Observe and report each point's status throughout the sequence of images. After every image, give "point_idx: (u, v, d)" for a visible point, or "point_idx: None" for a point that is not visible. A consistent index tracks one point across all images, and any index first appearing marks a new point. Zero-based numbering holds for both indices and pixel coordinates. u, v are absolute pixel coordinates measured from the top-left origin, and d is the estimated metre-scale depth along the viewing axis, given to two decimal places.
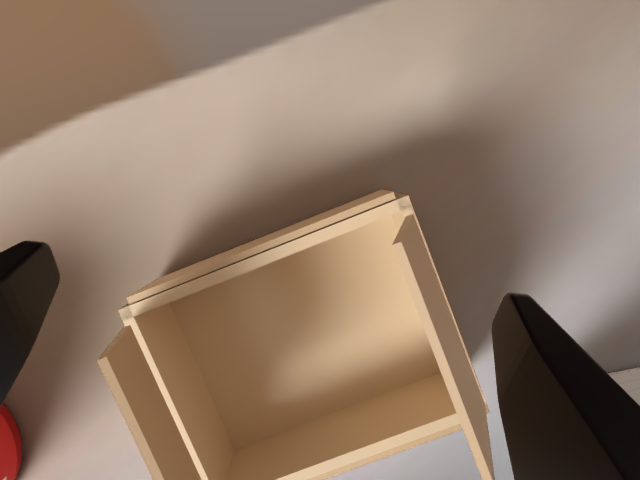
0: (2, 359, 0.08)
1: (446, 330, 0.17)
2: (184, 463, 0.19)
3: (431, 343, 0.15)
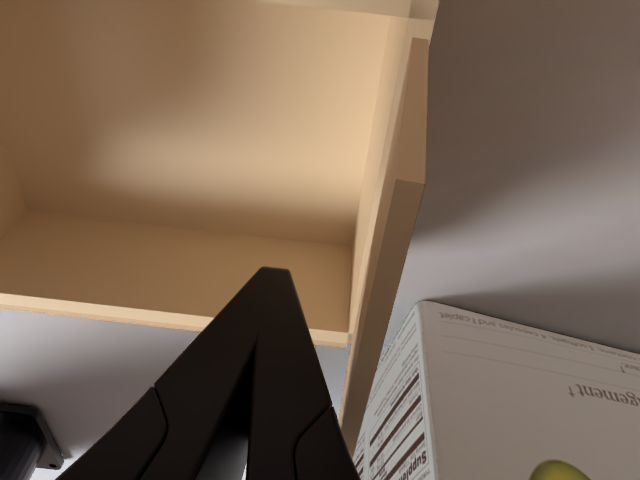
0: None
1: None
2: None
3: (356, 376, 0.07)
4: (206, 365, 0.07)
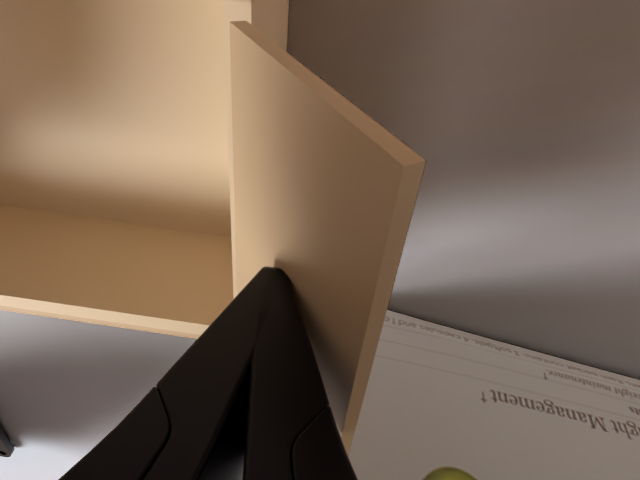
0: None
1: None
2: None
3: (363, 359, 0.07)
4: (209, 365, 0.07)
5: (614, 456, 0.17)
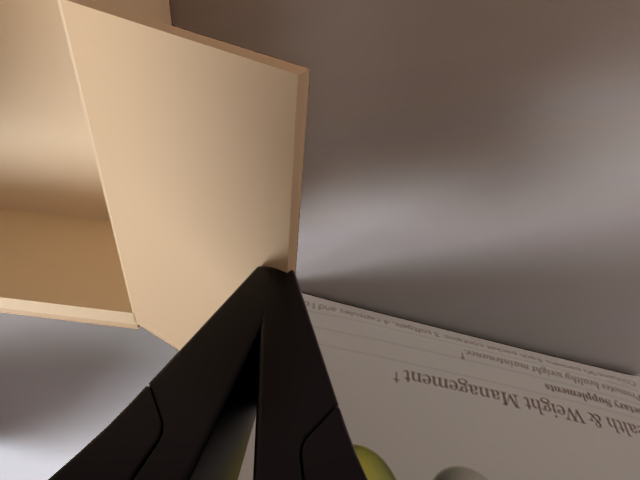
0: None
1: None
2: None
3: (291, 254, 0.09)
4: (202, 364, 0.07)
5: (523, 431, 0.17)
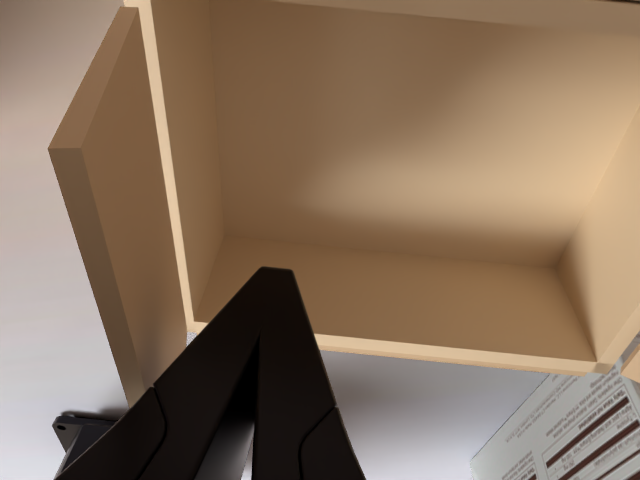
0: None
1: None
2: (171, 299, 0.11)
3: None
4: (205, 365, 0.07)
5: None
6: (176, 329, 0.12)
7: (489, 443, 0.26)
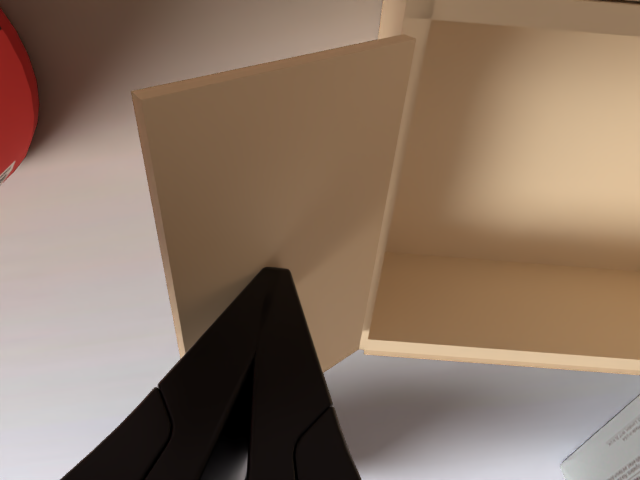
0: None
1: None
2: (324, 303, 0.11)
3: None
4: (210, 365, 0.07)
5: None
6: (318, 331, 0.12)
7: (585, 446, 0.26)
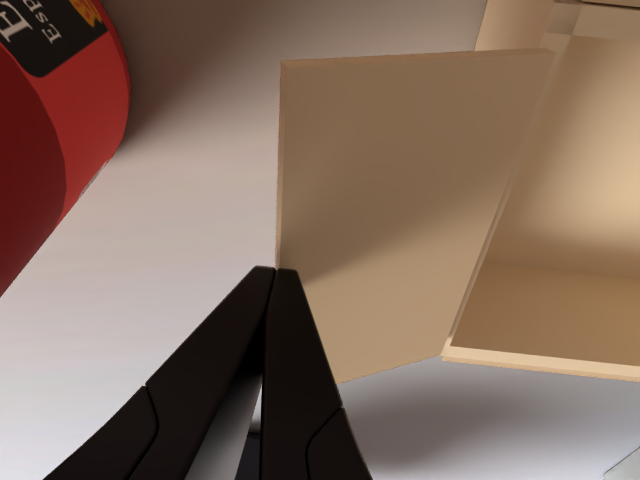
0: (255, 387, 0.08)
1: None
2: (413, 296, 0.12)
3: None
4: (198, 364, 0.07)
5: None
6: (403, 323, 0.12)
7: (631, 458, 0.26)
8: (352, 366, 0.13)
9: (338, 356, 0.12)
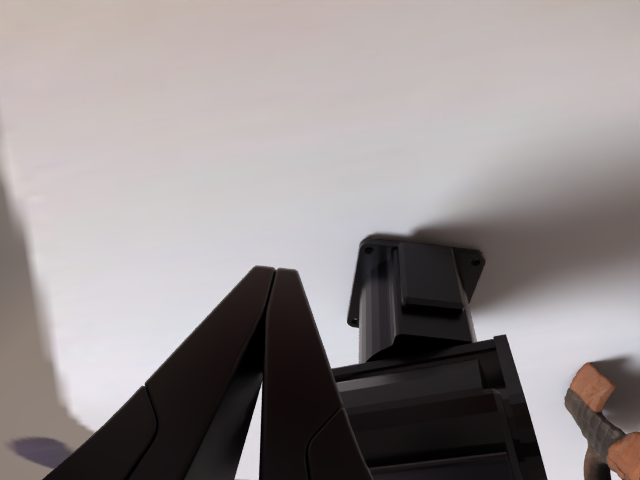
0: (255, 387, 0.08)
1: None
2: None
3: None
4: (198, 364, 0.07)
5: None
6: None
7: None
8: None
9: None
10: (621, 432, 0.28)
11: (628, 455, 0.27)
